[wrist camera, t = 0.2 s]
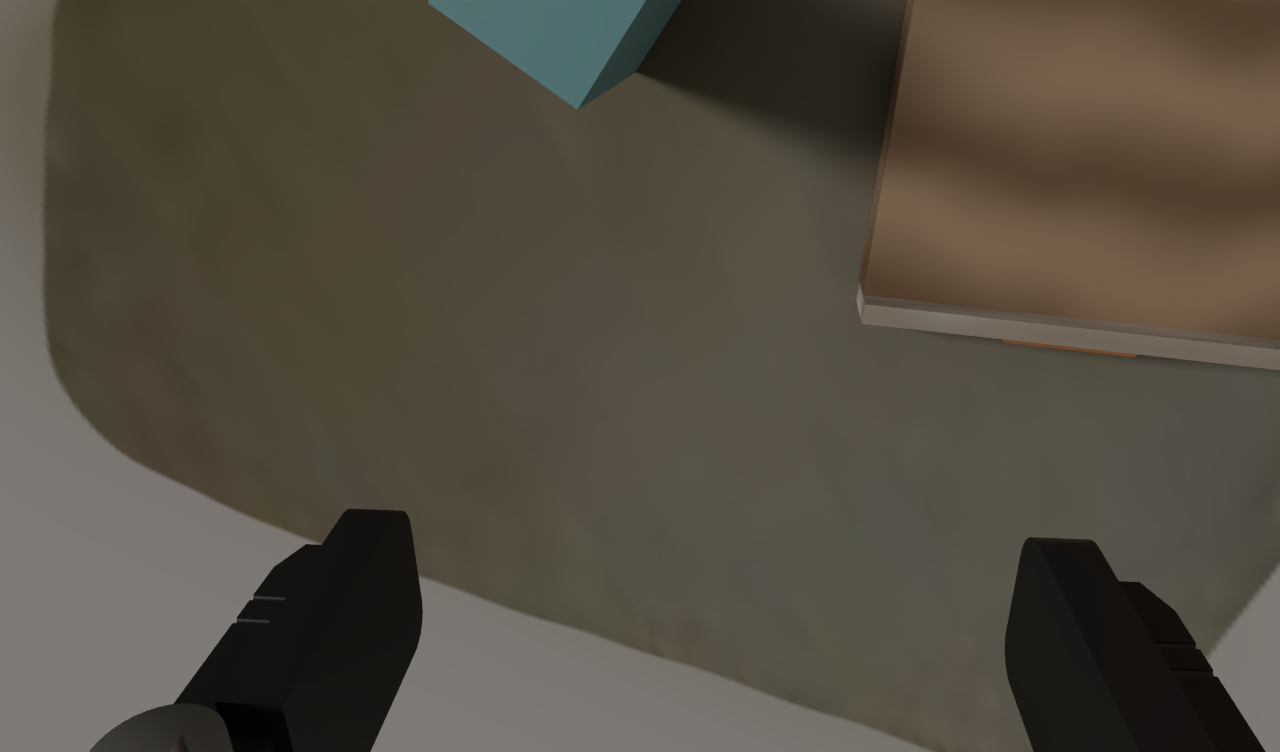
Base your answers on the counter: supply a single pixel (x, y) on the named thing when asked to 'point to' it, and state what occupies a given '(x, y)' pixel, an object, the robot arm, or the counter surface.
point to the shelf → (1083, 178)
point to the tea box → (566, 38)
